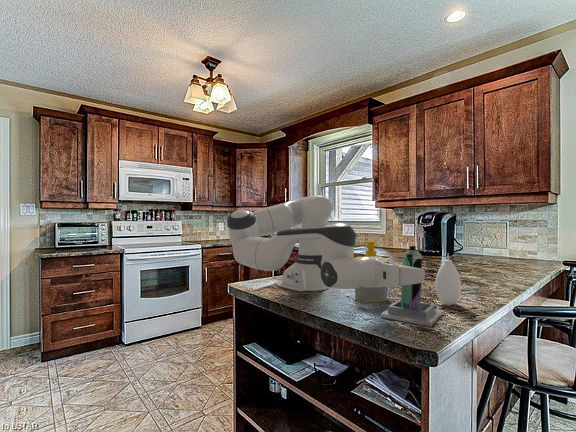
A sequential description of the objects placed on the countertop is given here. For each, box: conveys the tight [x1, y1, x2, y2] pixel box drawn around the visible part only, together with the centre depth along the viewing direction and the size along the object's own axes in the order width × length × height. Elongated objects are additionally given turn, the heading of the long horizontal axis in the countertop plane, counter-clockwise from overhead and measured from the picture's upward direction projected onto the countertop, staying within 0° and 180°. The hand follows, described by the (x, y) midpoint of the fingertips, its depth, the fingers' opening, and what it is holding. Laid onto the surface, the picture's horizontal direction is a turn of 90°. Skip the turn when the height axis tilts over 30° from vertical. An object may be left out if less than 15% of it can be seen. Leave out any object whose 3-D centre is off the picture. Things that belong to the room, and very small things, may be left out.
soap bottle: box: [354, 240, 390, 303], centre depth 122 cm, size 13×13×21 cm
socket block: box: [380, 298, 443, 327], centre depth 100 cm, size 14×14×3 cm
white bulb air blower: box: [434, 252, 462, 306], centre depth 113 cm, size 8×8×18 cm
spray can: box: [400, 245, 423, 311], centre depth 100 cm, size 6×6×20 cm
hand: (414, 269), depth 100 cm, fingers closed on spray can, 5 cm apart
